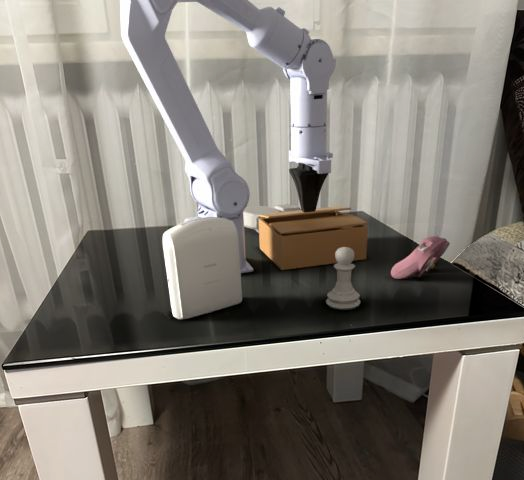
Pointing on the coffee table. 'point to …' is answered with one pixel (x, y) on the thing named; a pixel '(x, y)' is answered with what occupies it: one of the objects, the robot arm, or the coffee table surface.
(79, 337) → the coffee table surface
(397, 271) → the pink shoe
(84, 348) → the coffee table surface
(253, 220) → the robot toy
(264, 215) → the flap
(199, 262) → the photo printer
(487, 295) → the coffee table surface
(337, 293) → the chess piece
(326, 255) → the carton
